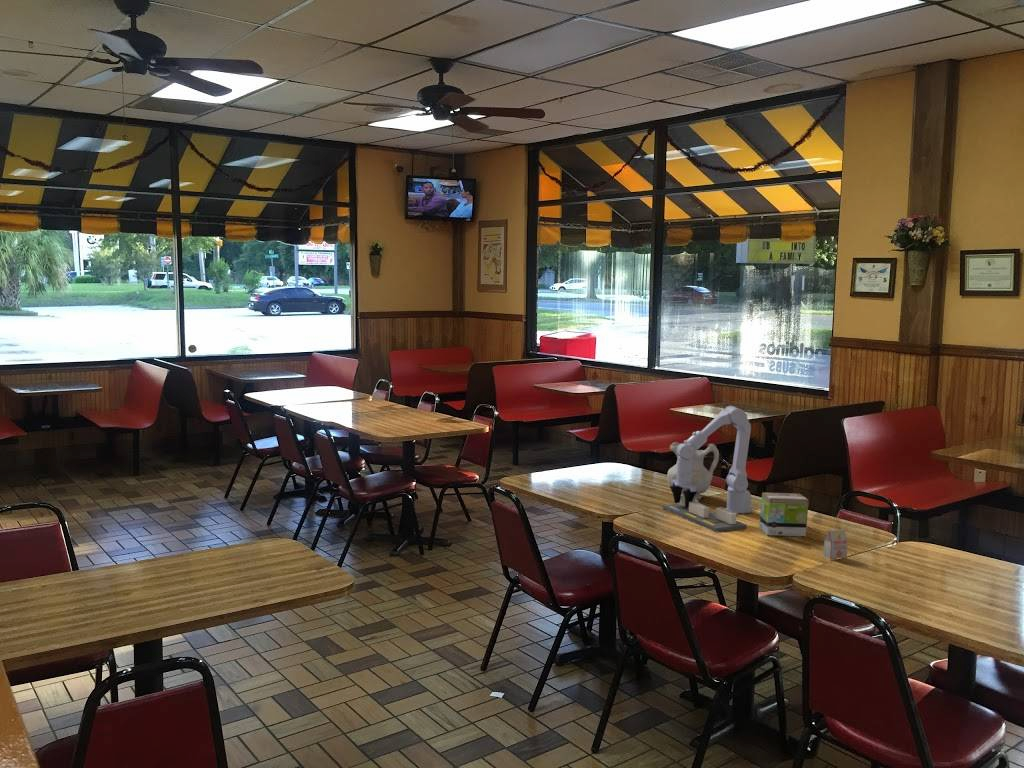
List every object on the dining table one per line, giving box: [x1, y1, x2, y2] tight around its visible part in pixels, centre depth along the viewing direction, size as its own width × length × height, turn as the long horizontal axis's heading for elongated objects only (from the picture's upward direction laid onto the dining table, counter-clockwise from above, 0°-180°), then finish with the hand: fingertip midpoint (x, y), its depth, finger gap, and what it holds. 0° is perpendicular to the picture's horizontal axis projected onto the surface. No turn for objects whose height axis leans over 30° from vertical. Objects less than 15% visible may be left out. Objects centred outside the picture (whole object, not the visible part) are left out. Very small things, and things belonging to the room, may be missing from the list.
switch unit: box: [662, 503, 747, 533], centre depth 347 cm, size 14×36×2 cm, turn 24°
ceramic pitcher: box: [666, 441, 720, 500], centre depth 382 cm, size 22×20×25 cm
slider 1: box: [678, 494, 699, 508], centre depth 358 cm, size 2×10×5 cm, turn 24°
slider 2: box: [689, 501, 710, 518], centre depth 346 cm, size 2×10×5 cm, turn 24°
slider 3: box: [714, 506, 738, 524], centre depth 337 cm, size 2×10×5 cm, turn 24°
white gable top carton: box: [822, 528, 849, 559], centre depth 299 cm, size 4×7×10 cm, turn 107°
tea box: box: [759, 492, 809, 537], centre depth 328 cm, size 15×10×15 cm, turn 92°
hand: (682, 505), depth 357 cm, fingers open, 7 cm apart
